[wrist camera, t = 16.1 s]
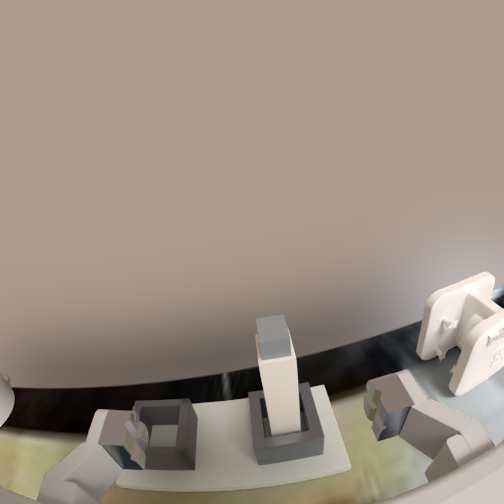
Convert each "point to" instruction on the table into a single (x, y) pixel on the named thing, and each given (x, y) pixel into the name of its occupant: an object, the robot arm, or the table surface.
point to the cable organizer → (464, 330)
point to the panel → (223, 448)
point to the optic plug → (278, 374)
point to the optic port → (289, 444)
